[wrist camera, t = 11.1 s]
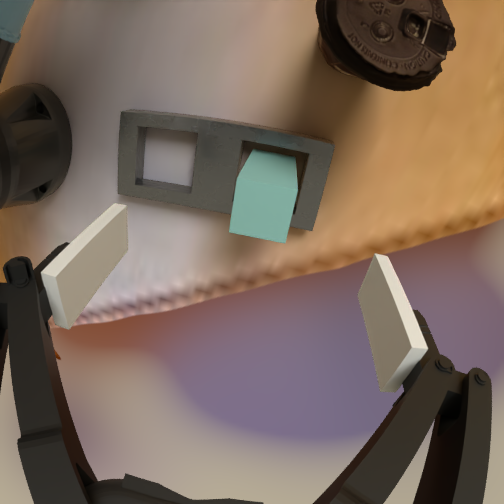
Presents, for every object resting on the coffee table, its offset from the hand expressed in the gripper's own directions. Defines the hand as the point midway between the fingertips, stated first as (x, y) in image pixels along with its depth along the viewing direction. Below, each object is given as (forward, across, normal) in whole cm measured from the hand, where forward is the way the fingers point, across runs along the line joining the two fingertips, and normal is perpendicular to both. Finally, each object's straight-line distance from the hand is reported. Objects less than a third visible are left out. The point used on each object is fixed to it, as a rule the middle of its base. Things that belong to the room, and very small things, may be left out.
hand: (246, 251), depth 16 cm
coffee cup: (+16, +6, +14) cm, 22 cm away
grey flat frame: (+16, -4, 0) cm, 16 cm away
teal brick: (+16, +1, 0) cm, 16 cm away
